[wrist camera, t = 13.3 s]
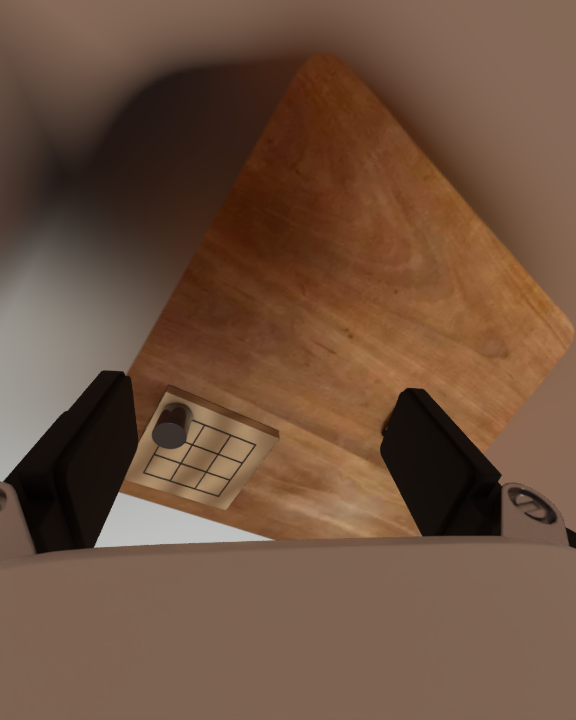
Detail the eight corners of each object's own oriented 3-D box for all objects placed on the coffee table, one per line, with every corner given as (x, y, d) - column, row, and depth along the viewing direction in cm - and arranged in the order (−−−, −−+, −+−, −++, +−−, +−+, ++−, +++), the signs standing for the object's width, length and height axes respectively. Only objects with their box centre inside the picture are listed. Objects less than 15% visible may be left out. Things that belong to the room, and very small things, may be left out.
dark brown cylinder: (153, 415, 35) (144, 436, 32) (175, 397, 34) (167, 417, 31) (178, 432, 36) (170, 454, 33) (199, 416, 36) (194, 436, 32)
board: (124, 469, 40) (119, 479, 39) (169, 384, 35) (165, 392, 34) (226, 501, 45) (225, 511, 44) (278, 431, 40) (279, 439, 38)
